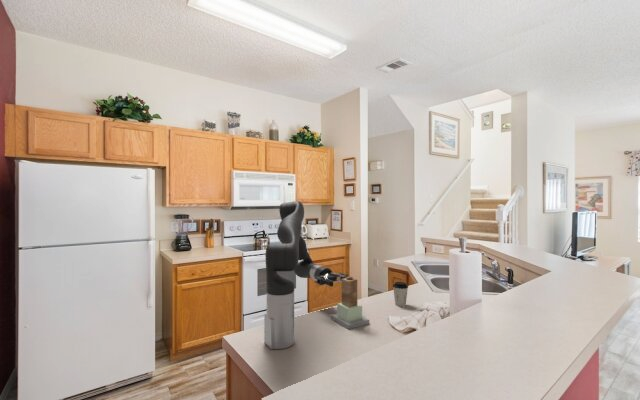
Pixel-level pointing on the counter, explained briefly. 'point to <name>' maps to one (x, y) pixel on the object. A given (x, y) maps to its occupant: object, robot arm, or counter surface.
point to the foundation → (349, 316)
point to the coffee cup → (400, 293)
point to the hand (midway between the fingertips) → (341, 282)
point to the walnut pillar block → (349, 291)
